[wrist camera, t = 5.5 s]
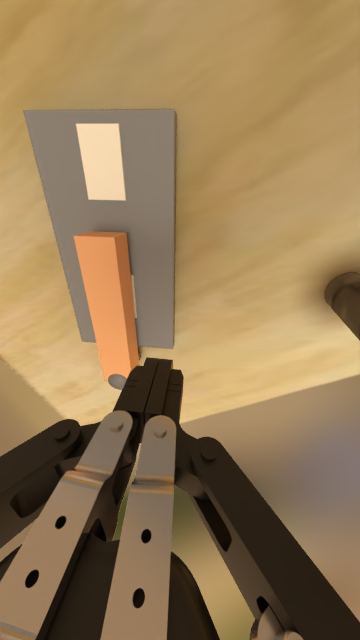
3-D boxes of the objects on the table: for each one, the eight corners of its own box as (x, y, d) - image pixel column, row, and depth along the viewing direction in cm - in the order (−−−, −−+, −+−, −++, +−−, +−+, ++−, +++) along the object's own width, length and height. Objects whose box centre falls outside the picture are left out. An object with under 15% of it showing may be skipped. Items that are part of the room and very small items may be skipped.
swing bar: (140, 373, 33) (133, 390, 30) (115, 371, 33) (106, 388, 30) (126, 232, 23) (114, 237, 20) (90, 231, 23) (73, 235, 20)
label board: (34, 116, 21) (17, 107, 19) (176, 115, 20) (173, 105, 18) (92, 358, 36) (85, 366, 34) (173, 365, 35) (172, 374, 33)
